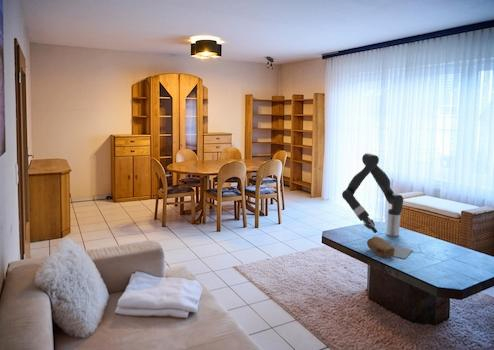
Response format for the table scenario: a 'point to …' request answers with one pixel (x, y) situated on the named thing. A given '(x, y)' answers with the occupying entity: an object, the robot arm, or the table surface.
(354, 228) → the table surface
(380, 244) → the rough sandstone rock
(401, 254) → the mat
